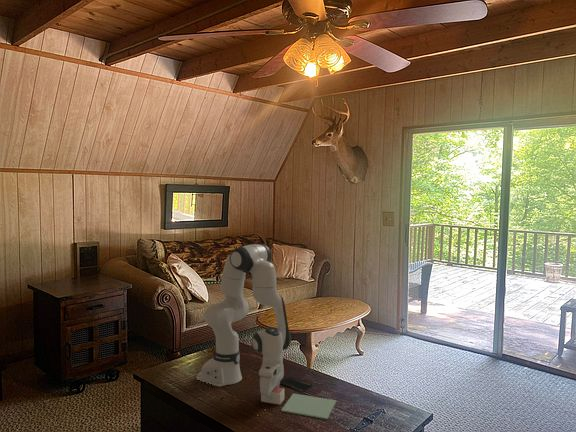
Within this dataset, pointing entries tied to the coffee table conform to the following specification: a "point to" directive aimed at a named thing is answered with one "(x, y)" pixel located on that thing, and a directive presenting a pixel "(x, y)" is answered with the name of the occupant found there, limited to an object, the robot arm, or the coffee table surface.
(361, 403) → the coffee table surface
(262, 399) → the card case
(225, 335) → the robot arm
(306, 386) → the phone
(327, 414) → the mat
